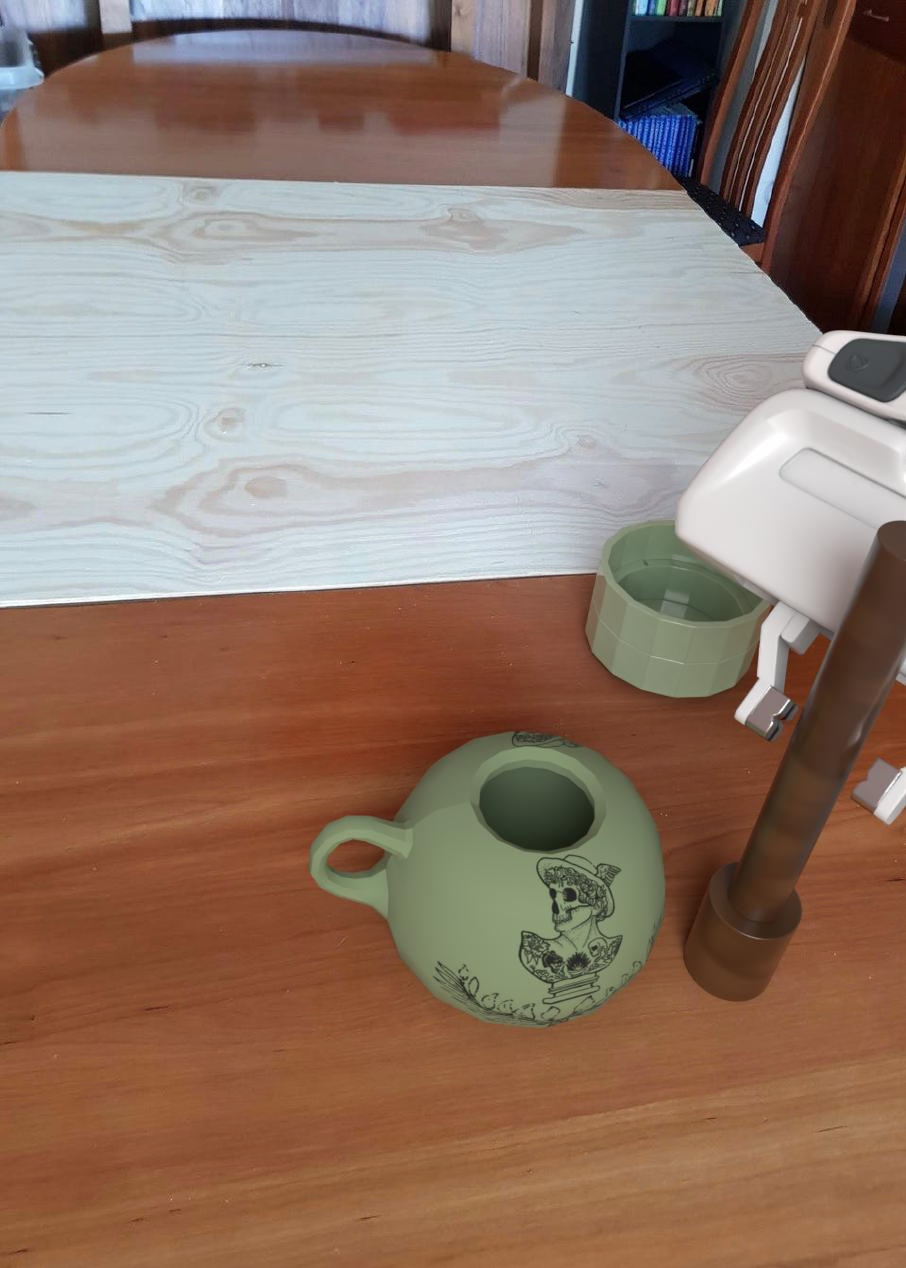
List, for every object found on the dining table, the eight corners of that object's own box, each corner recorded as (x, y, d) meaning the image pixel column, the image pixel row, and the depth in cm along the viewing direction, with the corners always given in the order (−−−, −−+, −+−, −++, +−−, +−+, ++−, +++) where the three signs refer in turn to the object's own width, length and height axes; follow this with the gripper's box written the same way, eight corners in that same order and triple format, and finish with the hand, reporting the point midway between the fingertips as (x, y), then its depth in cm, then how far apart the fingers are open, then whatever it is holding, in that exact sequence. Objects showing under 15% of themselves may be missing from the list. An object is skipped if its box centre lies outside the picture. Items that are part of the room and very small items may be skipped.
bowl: (718, 594, 70) (742, 519, 66) (770, 702, 62) (800, 625, 58) (570, 596, 68) (585, 520, 64) (604, 707, 61) (623, 628, 57)
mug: (614, 803, 55) (647, 684, 50) (686, 1036, 46) (736, 921, 40) (306, 819, 53) (303, 696, 47) (313, 1068, 44) (310, 951, 38)
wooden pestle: (754, 922, 51) (946, 504, 35) (783, 999, 48) (1008, 581, 32) (673, 927, 50) (831, 505, 34) (697, 1005, 47) (883, 583, 31)
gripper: (1335, 632, 36) (1080, 959, 37) (814, 387, 46) (629, 646, 47) (1389, 578, 30) (1089, 963, 31) (786, 315, 41) (577, 609, 42)
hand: (808, 770), depth 39 cm, fingers open, 4 cm apart
